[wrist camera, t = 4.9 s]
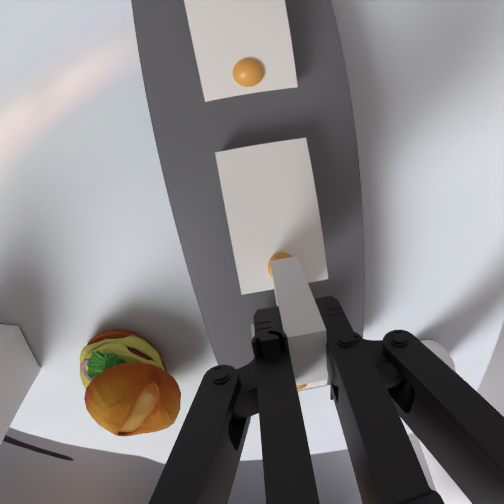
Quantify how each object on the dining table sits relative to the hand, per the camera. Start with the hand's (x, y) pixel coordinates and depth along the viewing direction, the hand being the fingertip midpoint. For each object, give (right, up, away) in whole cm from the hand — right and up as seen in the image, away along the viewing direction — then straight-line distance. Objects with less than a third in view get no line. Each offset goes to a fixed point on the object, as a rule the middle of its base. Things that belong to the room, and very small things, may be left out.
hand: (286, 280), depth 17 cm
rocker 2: (-1, +4, 0) cm, 4 cm away
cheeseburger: (-15, -10, +13) cm, 22 cm away
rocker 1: (-3, +13, -4) cm, 14 cm away
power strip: (-2, +9, +5) cm, 11 cm away
